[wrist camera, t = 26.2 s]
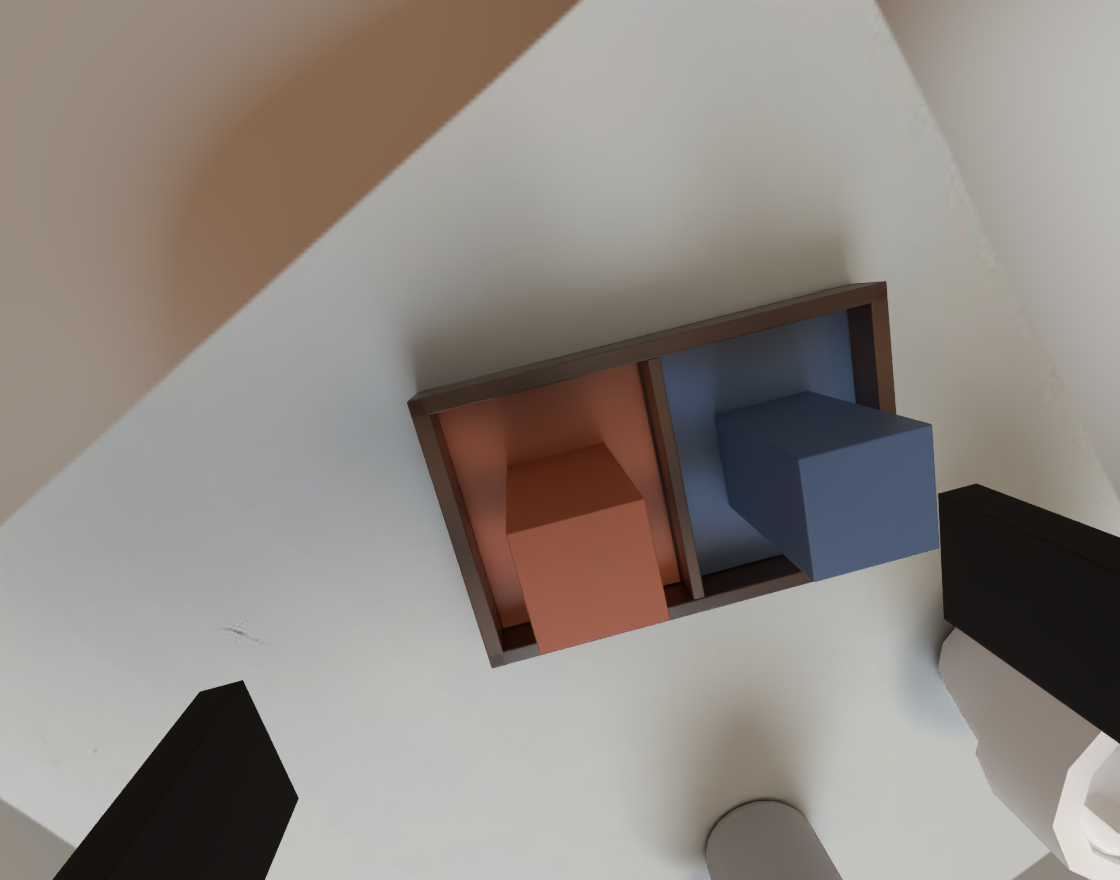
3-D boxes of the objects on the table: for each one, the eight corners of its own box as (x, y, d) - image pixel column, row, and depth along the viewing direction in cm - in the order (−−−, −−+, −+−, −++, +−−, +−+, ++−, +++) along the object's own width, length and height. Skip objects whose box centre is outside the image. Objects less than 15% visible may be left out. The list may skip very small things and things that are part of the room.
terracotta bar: (506, 467, 26) (505, 534, 18) (604, 442, 26) (644, 498, 18) (531, 557, 27) (540, 655, 20) (625, 532, 27) (670, 620, 20)
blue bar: (713, 415, 26) (798, 459, 19) (809, 390, 27) (932, 423, 19) (729, 506, 28) (814, 583, 20) (820, 482, 28) (940, 548, 20)
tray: (416, 392, 26) (406, 402, 23) (850, 283, 26) (886, 281, 24) (493, 637, 29) (491, 669, 27) (873, 536, 30) (907, 556, 27)
